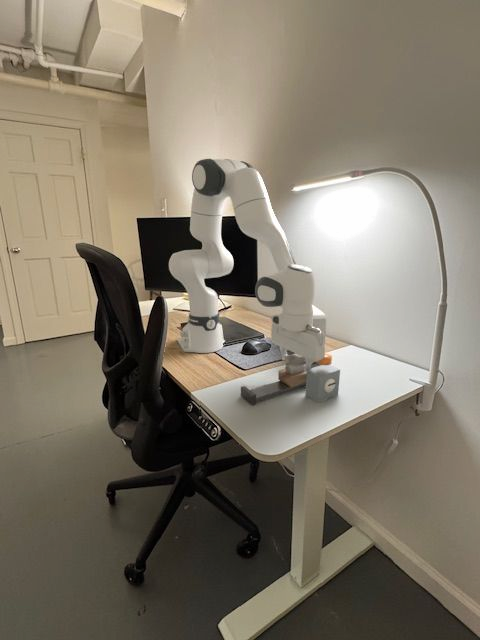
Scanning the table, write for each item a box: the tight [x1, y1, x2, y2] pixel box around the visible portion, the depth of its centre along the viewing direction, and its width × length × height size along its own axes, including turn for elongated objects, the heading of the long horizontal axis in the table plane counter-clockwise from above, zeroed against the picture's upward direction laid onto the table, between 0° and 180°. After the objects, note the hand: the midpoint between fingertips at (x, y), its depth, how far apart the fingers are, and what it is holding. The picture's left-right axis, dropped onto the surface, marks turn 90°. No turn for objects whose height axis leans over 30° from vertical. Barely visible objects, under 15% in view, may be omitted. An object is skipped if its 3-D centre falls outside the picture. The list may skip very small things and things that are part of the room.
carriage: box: [277, 353, 307, 387], centre depth 100 cm, size 6×8×8 cm
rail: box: [240, 380, 306, 406], centre depth 98 cm, size 6×24×3 cm, turn 122°
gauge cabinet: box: [305, 364, 341, 403], centre depth 94 cm, size 6×8×8 cm
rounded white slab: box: [312, 304, 327, 344], centre depth 128 cm, size 29×8×18 cm, turn 6°
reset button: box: [316, 352, 333, 366], centre depth 92 cm, size 4×4×2 cm
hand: (295, 365), depth 99 cm, fingers open, 8 cm apart
